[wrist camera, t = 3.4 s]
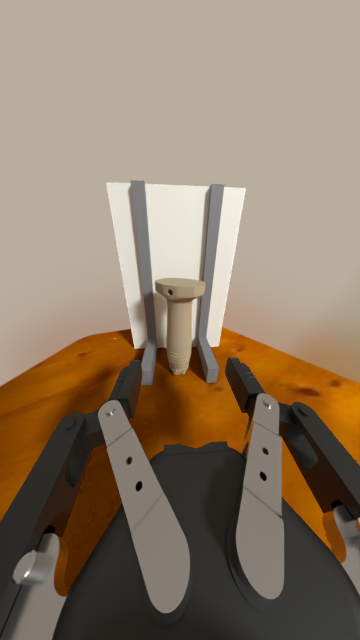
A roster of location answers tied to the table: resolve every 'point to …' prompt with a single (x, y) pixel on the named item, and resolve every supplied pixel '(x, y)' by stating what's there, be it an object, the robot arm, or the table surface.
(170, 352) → the handle
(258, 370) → the table surface
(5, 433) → the table surface
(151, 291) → the rack
